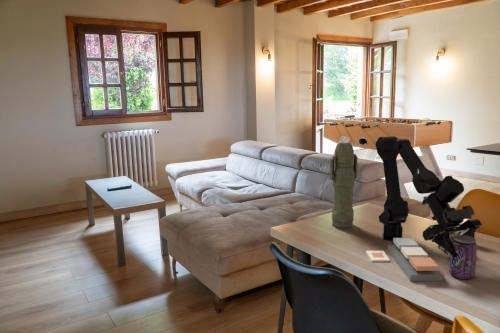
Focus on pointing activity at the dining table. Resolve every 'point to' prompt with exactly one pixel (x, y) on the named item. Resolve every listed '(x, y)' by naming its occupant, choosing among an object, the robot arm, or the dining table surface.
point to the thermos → (343, 185)
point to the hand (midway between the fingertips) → (465, 254)
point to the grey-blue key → (404, 242)
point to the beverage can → (463, 257)
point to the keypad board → (410, 270)
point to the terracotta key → (423, 264)
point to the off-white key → (413, 252)
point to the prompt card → (378, 256)
